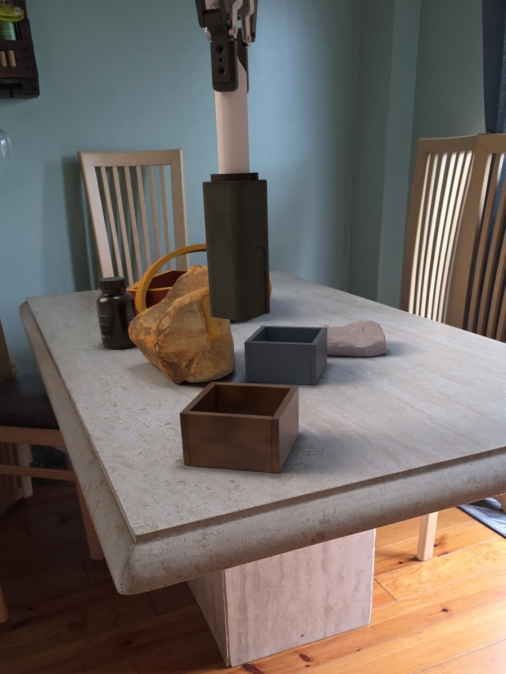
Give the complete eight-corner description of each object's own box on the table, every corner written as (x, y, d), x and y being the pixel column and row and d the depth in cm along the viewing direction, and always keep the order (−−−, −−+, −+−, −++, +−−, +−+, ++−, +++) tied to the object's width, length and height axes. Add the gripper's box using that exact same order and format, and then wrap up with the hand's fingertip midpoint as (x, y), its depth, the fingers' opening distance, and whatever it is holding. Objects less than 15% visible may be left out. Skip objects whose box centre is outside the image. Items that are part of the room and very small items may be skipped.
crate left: (298, 434, 74) (298, 386, 71) (279, 473, 64) (278, 419, 62) (213, 428, 76) (211, 381, 74) (183, 465, 67) (179, 413, 64)
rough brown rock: (146, 354, 111) (129, 269, 105) (238, 343, 111) (227, 257, 104) (123, 402, 90) (100, 300, 84) (236, 389, 90) (222, 285, 83)
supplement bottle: (129, 338, 119) (121, 274, 114) (145, 345, 114) (138, 278, 109) (95, 344, 116) (86, 278, 111) (111, 351, 110) (102, 283, 106)
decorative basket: (239, 303, 158) (231, 241, 154) (309, 302, 134) (301, 229, 130) (114, 325, 142) (101, 257, 137) (168, 329, 118) (154, 247, 113)
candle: (244, 321, 61) (232, 19, 51) (205, 316, 64) (187, 28, 54) (274, 312, 65) (269, 27, 55) (236, 307, 68) (224, 36, 58)
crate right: (326, 364, 99) (327, 327, 97) (316, 385, 90) (316, 344, 88) (262, 361, 102) (261, 325, 99) (245, 381, 93) (244, 342, 90)
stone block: (390, 365, 103) (376, 339, 112) (392, 339, 101) (378, 314, 109) (319, 371, 103) (311, 344, 111) (319, 345, 100) (311, 319, 108)
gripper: (242, -213, 42) (251, 81, 49) (285, -128, 54) (288, 97, 62) (140, -193, 44) (163, 88, 51) (204, -115, 56) (216, 102, 63)
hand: (231, 92), depth 56 cm, fingers closed on candle, 3 cm apart
